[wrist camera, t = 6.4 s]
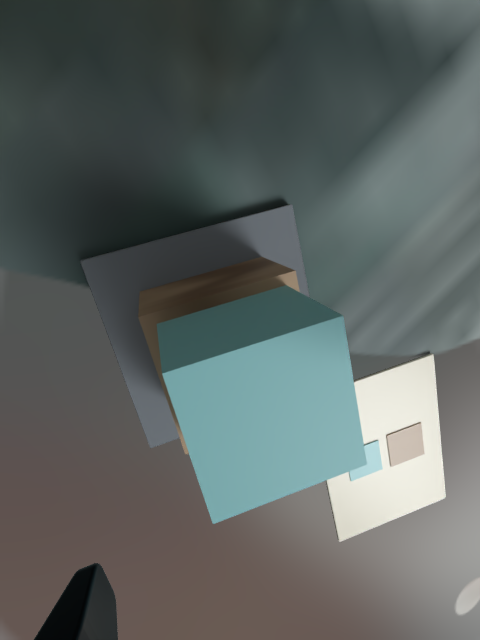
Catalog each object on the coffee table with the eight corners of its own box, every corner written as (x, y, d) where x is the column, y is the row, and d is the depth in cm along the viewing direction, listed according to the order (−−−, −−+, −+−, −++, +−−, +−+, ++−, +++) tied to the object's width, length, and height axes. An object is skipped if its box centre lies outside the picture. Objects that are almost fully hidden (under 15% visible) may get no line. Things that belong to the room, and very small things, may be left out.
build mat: (288, 204, 19) (292, 204, 19) (322, 382, 22) (326, 386, 22) (81, 260, 18) (80, 261, 17) (150, 442, 21) (150, 448, 20)
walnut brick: (261, 256, 19) (295, 270, 15) (286, 366, 21) (322, 406, 17) (139, 291, 18) (138, 317, 14) (176, 402, 20) (185, 454, 16)
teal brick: (286, 284, 15) (343, 315, 11) (309, 398, 16) (367, 464, 12) (156, 323, 14) (162, 373, 10) (194, 439, 16) (213, 523, 11)
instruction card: (431, 353, 23) (434, 354, 23) (443, 495, 27) (446, 498, 27) (308, 396, 22) (310, 398, 22) (337, 539, 26) (339, 542, 25)
